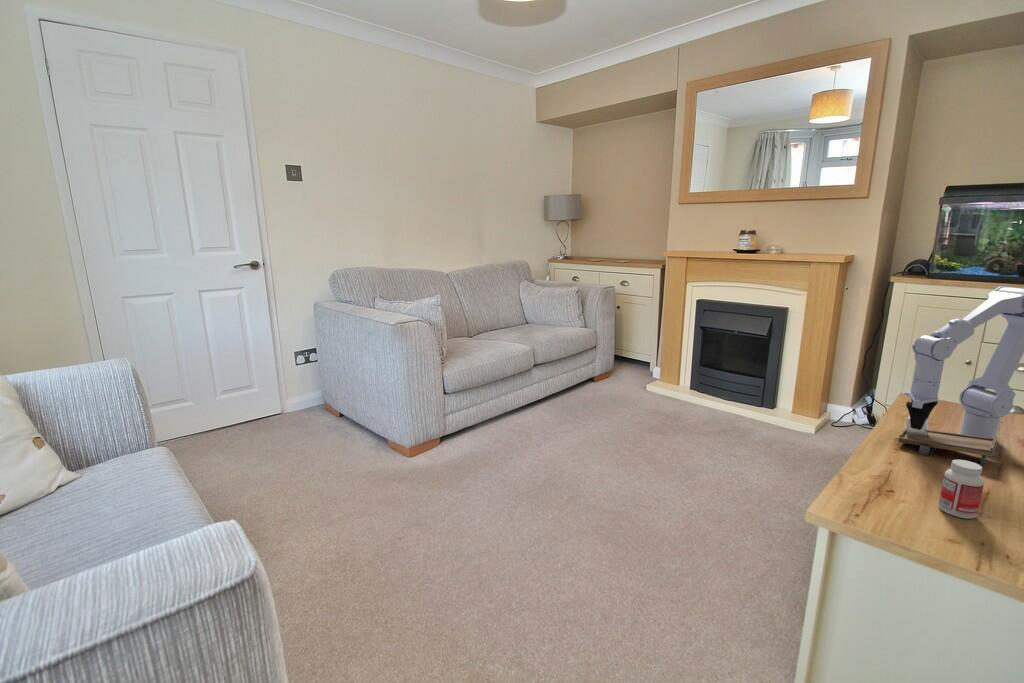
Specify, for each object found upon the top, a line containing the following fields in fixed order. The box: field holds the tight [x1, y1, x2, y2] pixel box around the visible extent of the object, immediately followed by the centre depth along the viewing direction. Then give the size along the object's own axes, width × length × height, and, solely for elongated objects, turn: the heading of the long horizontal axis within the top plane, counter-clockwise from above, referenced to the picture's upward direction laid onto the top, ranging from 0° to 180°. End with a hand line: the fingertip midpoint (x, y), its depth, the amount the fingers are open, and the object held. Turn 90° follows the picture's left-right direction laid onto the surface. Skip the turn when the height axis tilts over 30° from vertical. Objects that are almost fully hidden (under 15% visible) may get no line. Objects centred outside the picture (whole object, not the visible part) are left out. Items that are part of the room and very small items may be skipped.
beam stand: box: [901, 443, 987, 467], centre depth 131 cm, size 14×17×3 cm
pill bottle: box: [938, 459, 985, 520], centre depth 102 cm, size 6×6×11 cm
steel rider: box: [906, 415, 929, 439], centre depth 135 cm, size 4×4×5 cm
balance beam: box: [898, 426, 998, 457], centre depth 130 cm, size 11×18×2 cm, turn 41°
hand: (917, 426), depth 135 cm, fingers closed on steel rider, 4 cm apart
